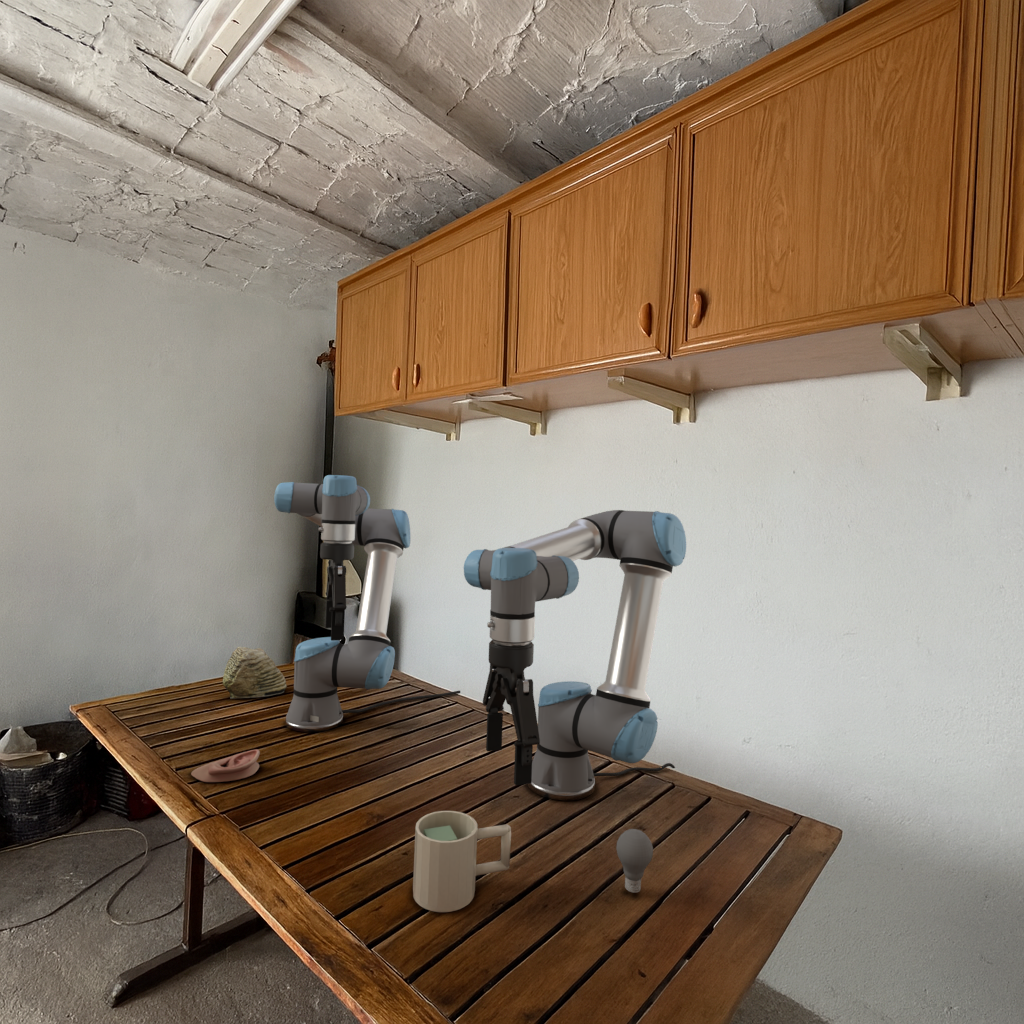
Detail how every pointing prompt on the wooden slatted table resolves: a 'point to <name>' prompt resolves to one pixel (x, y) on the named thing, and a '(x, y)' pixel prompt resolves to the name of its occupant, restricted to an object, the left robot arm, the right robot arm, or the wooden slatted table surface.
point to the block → (440, 833)
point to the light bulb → (634, 857)
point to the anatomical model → (229, 768)
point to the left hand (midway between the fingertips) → (334, 633)
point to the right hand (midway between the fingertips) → (507, 765)
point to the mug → (453, 860)
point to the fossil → (252, 674)
